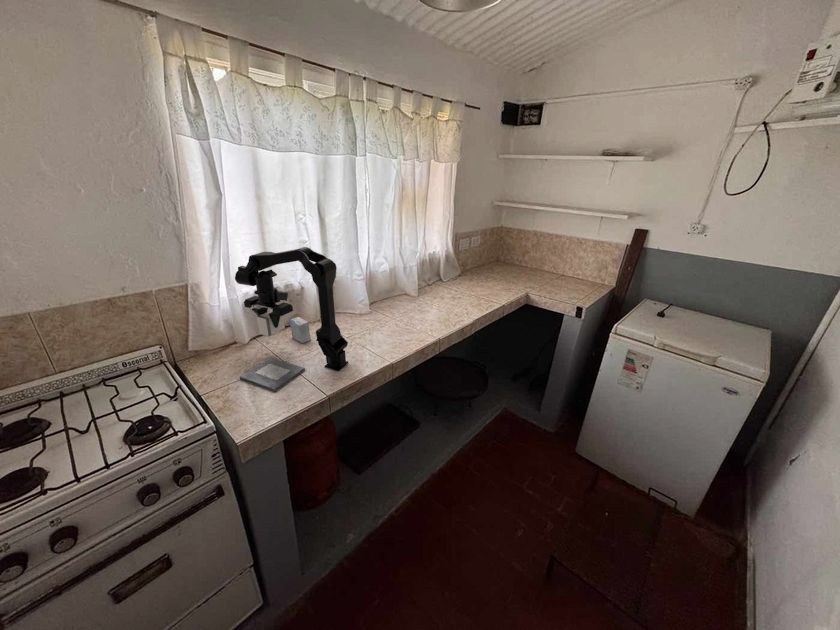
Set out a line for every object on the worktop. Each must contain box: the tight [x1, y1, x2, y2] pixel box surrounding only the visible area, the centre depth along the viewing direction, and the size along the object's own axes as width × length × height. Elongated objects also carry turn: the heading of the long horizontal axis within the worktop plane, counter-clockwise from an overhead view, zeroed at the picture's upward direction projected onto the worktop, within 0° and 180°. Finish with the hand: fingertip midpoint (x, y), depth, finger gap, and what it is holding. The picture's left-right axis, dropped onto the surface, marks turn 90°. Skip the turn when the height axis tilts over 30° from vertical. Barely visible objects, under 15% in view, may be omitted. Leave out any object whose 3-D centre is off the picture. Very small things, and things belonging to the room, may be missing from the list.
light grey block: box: [256, 309, 286, 337], centre depth 124 cm, size 5×8×7 cm, turn 156°
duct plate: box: [239, 357, 306, 393], centre depth 115 cm, size 16×14×1 cm
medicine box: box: [289, 316, 311, 344], centre depth 138 cm, size 8×4×9 cm, turn 48°
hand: (271, 326), depth 124 cm, fingers closed on light grey block, 4 cm apart
